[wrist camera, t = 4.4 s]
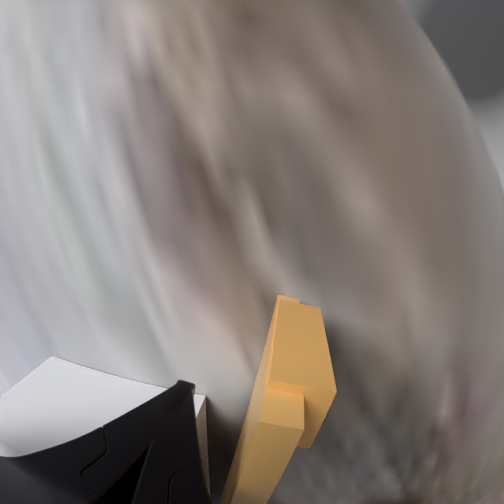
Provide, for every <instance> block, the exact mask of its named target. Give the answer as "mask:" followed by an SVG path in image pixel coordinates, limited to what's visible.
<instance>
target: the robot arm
mask: <svg viewBox="0 0 504 504" xmlns="http://www.w3.org/2000/svg"><path fill="white" fill-rule="evenodd" d="M195 387H196V386H195V384H193V383H190V382H187V381H184V380H178V381H177V383H176V384H175V385H174V386H172V387H170V388H169V389H167V390H165V391H164V392H162V393H160V394H158V395H157V396H155V397H153V398H151V399H150V400H148V401H146V402H145V403H143V404H141V405H139V406H137V407H136V408H134V409H132V410H130V411H128V412H127V413H125V414H123V415H121V416H119V417H118V418H116V419H114V420H112V421H110V422H108V423H106V424H104V425H103V427H99V428H97V429H95V430H93V431H91V432H89V433H87V434H84V435H82V436H80V437H78V438H76V439H73V440H70V441H68V442H65V443H62V444H59V445H56V446H53V447H50V448H47V449H44V450H40V451H37V452H34V453H31V454H27V455H23V456H17V457H4V456H0V504H212V501H211V498H210V495H209V491H208V488H207V484H206V480H205V475H204V469H203V463H202V457H201V451H200V444H199V436H198V429H197V421H196V413H195V405H194V393H195Z"/></svg>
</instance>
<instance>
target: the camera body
mask: <svg viewBox="0 0 504 504" xmlns="http://www.w3.org/2000/svg"><path fill="white" fill-rule="evenodd" d="M167 389H168V388H163V387H158V386H154V385H150V384H145V383H141V382H137V381H133V380H129V379H125V378H122V377H118V376H114V375H111V374H107V373H104V372H100V371H97V370H93V369H90V368H87V367H84V366H81V365H78V364H75V363H72V362H69V361H66V360H63V359H60V358H57V357H54V356H51V357H50V358H49V359H48V360H46V361H45V362H44V363H42V364H41V365H40V366H39V367H37V368H36V369H35V370H33V371H32V372H31V373H30V374H28V375H27V376H26V377H25V378H23V379H22V380H21V381H20V382H18V383H17V384H16V385H15V386H13V387H12V388H11V389H10V390H8V391H7V392H6V393H5V394H3V395H2V396H1V397H0V456H4V457H17V456H23V455H27V454H31V453H34V452H37V451H40V450H44V449H47V448H50V447H53V446H56V445H59V444H62V443H65V442H68V441H70V440H73V439H76V438H78V437H80V436H82V435H84V434H87V433H89V432H91V431H93V430H95V429H97V428H99V427H103V425H104V424H106V423H108V422H110V421H112V420H114V419H116V418H118V417H119V416H121V415H123V414H125V413H127V412H128V411H130V410H132V409H134V408H136V407H137V406H139V405H141V404H143V403H145V402H146V401H148V400H150V399H151V398H153V397H155V396H157V395H158V394H160V393H162V392H164V391H165V390H167ZM194 405H195V413H196V421H197V429H198V436H199V444H200V451H201V457H202V463H203V469H204V475H205V480H206V484H207V488H208V491H209V495H210V482H209V466H208V447H207V424H206V396H205V395H199V394H194ZM210 498H211V497H210Z"/></svg>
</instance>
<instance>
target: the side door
mask: <svg viewBox="0 0 504 504" xmlns="http://www.w3.org/2000/svg"><path fill="white" fill-rule="evenodd" d="M336 392H337V390H336V384H335V379H334V373H333V368H332V363H331V358H330V353H329V348H328V343H327V338H326V333H325V328H324V323H323V318H322V314H321V309H320V308H318V307H314V306H309V305H304V304H300V299H296V298H291V297H287V296H282V295H278V296H277V300H276V304H275V308H274V312H273V316H272V320H271V324H270V328H269V332H268V336H267V340H266V343H265V347H264V351H263V355H262V359H261V362H260V366H259V370H258V373H257V377H256V381H255V384H254V388H253V392H252V395H251V399H250V402H249V406H248V409H247V413H246V416H245V420H244V423H243V427H242V430H241V434H240V437H239V441H238V444H237V447H236V451H235V454H234V457H233V461H232V464H231V467H230V471H229V474H228V477H227V480H226V483H225V487H224V490H223V493H222V496H221V499H220V502H219V504H267V502H268V501H269V499H270V497H271V495H272V493H273V492H274V490H275V488H276V486H277V484H278V482H279V480H280V478H281V476H282V474H283V473H284V471H285V469H286V467H287V465H288V463H289V461H290V459H291V457H292V455H293V452H294V450H295V448H296V447H298V448H305V449H310V447H311V445H312V443H313V441H314V439H315V437H316V435H317V433H318V431H319V429H320V427H321V425H322V423H323V421H324V419H325V417H326V415H327V412H328V410H329V408H330V406H331V404H332V401H333V399H334V397H335V395H336Z"/></svg>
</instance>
